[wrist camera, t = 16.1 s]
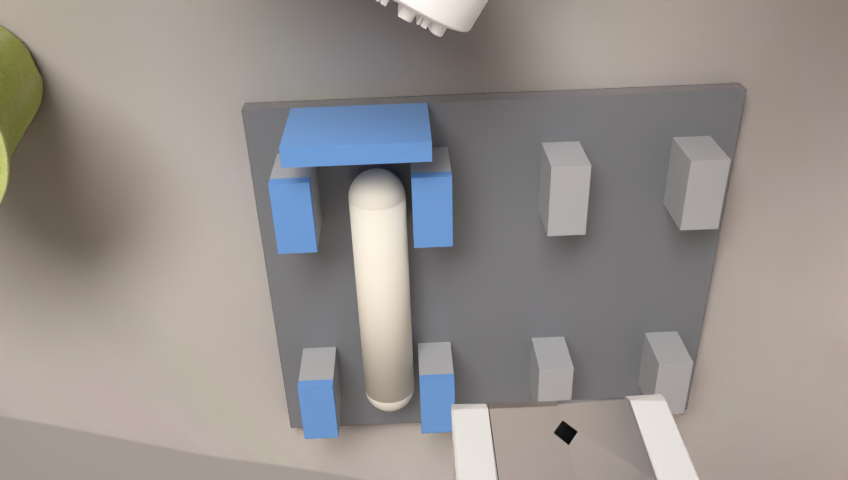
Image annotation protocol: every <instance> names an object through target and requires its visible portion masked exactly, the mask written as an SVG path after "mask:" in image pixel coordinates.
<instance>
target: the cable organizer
mask: <svg viewBox="0 0 848 480" xmlns="http://www.w3.org/2000/svg"><path fill="white" fill-rule="evenodd" d="M376 1H377V2H380V3H381V4H382V5H384V6H386V5H387V3H388V1H389V0H376ZM393 1H395V2H397V3H398V17H400V18H402V19H403V20H405V21H407V22H410V23H411V22H412V21H413V19H414V17H415V16H416V23H417V25H419V24H420V26H421V27H423V28H424V29H427V27H428V28H429V30H430V31H431V32H432V33H433V34H435V35H436V36H439V37H442V36H443V34H444V33H445V31H446V29H447V28H448V29H451V30H455V31H459V32H468V31H470V30H471V28H472V26H473V25H474V23H475V21H476V20H477V18H478V17H479V15H480V13H481V12H482V10H483V8H484V7H485V5H486V3H487V2H488V0H393Z"/></svg>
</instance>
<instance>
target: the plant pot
mask: <svg viewBox="0 0 848 480" xmlns="http://www.w3.org/2000/svg"><path fill="white" fill-rule="evenodd" d="M42 96H43V81H42V77H41V75H40V74H39V72H38V70H37V68H36V65H35V63H34V61H33V59H32V57H31V55H30V52H29V50H28V49H27V47H26V46H25V45H24V44H23V43H22V42H21V41H20V40H19V39H18V38H17V37H16V36H15V35H13V34H12V33H11V32H9V31H8V30H6V29H5V28H3V27H1V26H0V205H1V203H2V201H3V200H4V197H5V195H6V192H7V189H8V186H9V181H10V171H11V163H10V160H11V157H12V155H13V153H14V151H15V149H16V147H17V146H18V144H19V142H20V140H21V138H22V136H23V135H24V133H25V131H26V129H27V128H28V126H29V125H30V123H31V121H32V119H33V118H34V116H35V114H36V113H37V111H38V109H39V107H40V104H41V101H42Z"/></svg>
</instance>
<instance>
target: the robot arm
mask: <svg viewBox="0 0 848 480" xmlns="http://www.w3.org/2000/svg"><path fill="white" fill-rule="evenodd" d="M451 420H452V450H453V478H454V480H700V478H699V476H698V474H697V471H696V469H695V467H694V464H693V462H692V460H691V457H690V455H689V452H688V450H687V448H686V445H685V443H684V441H683V438H682V436H681V434H680V431H679V429H678V427H677V424H676V422H675V419H674V417H673V415H672V412H671V410H670V408H669V405H668V403H667V401H666V398H664V397H663V396H662V395H661V394H653V395H638V396H626V397H625V398H624V397H611V398H594V399H576V400H559V401H533V402H495V403H487V405H486V404H452V407H451Z"/></svg>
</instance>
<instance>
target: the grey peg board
mask: <svg viewBox="0 0 848 480" xmlns="http://www.w3.org/2000/svg"><path fill="white" fill-rule="evenodd" d="M745 94H746V89H745V88H744V87H743V86H742V85H741V84H739V83H729V84H705V85H680V86H655V87H630V88H606V89H581V90H556V91H532V92H507V93H482V94H458V95H433V96H408V97H384V98H359V99H334V100H310V101H285V102H260V103H245V104H244V106H243V108H242V115H243V122H244V128H245V135H246V141H247V148H248V154H249V161H250V167H251V174H252V180H253V186H254V193H255V199H256V206H257V212H258V219H259V225H260V232H261V238H262V244H263V251H264V257H265V264H266V270H267V277H268V283H269V290H270V296H271V303H272V309H273V315H274V322H275V328H276V335H277V341H278V348H279V354H280V361H281V367H282V374H283V380H284V386H285V393H286V399H287V406H288V412H289V419H290V425H291V428H303V430H304V437H305V439H315V438H336V437H338V435H339V426H346V425H367V424H388V423H410V422H421V427H422V433H441V432H452V420H451V407H452V404H486V405H487V403H495V402H533V401H559V400H576V399H594V398H611V397H624V398H625V397H626V396H638V395H653V394H661V395H662V396H663V397H664V398H666V401H667V403H668V405H669V408H670V410H671V412H672V414H684V410H685V409H687V405H688V399H689V394H690V388H691V383H692V378H693V372H694V367H695V362H696V356H697V351H698V346H699V340H700V335H701V330H702V324H703V319H704V314H705V308H706V303H707V297H708V292H709V287H710V281H711V276H712V271H713V265H714V260H715V255H716V249H717V244H718V239H719V233H720V228H721V223H722V217H723V212H724V207H725V201H726V196H727V190H728V185H729V180H730V174H731V169H732V164H733V158H734V153H735V148H736V142H737V137H738V132H739V126H740V121H741V116H742V110H743V105H744V99H745ZM373 168H380V169H385V170H388V171H390V172H392V173H393V174H395V175H396V176H397V177H398V178H399V179H400V181H401V182H402V184H403V187H404V190H405V195H406V216H407V238H408V260H409V282H410V303H411V325H412V347H413V369H414V392H413V395H412V398H411V399H410V401H409V402H408V403H407V404H406V405H405V406H404V407H402V408H401V409H399V410H396V411H383V410H380V409H378V408H376V407H375V406H374V405H373V404H372V403H371V402H370V401H369V399H368V397H367V395H366V391H365V382H364V371H363V359H362V348H361V336H360V325H359V313H358V302H357V291H356V279H355V268H354V256H353V245H352V233H351V222H350V210H349V199H348V196H349V190H350V186H351V184H352V182H353V181H354V179H355V178H356V177H357V176H358V175H359V174H361V173H362V172H364V171H366V170H369V169H373Z"/></svg>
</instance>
